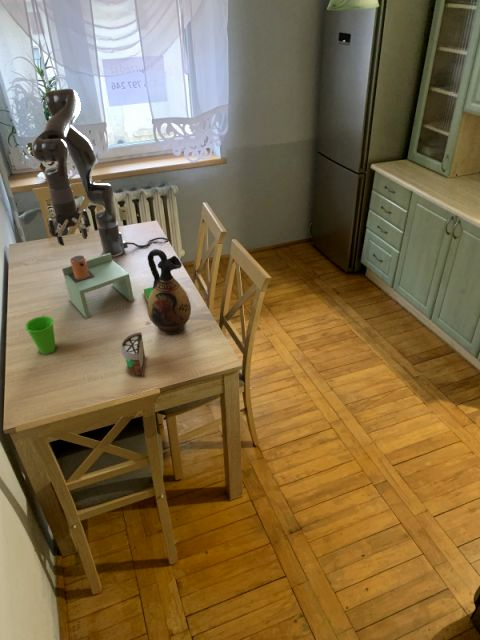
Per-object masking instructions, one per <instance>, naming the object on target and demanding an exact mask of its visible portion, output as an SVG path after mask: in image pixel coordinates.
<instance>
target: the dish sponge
mask: <svg viewBox="0 0 480 640" xmlns="http://www.w3.org/2000/svg"><path fill="white" fill-rule="evenodd" d="M152 290H153V286H152V287H151V286H150V287H147V288H144V289H143V295H144V297H145V299H146V302H148V300H149V296H150V294H151V292H152Z"/></svg>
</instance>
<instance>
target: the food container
mask: <svg viewBox="0 0 480 640" xmlns="http://www.w3.org/2000/svg"><path fill="white" fill-rule="evenodd" d="M120 353H121V355H122V356H123V357H124V359H125V363H126V365H127V369H128V372H129V373H130V375H132V376H135V377H144V370H145V363H146V354H145V347H144V341H143V334H142V331H139V332H134V333H132V334H130V335H128V336H126V337H125V338H124V339H123V340H122V342H121V345H120Z"/></svg>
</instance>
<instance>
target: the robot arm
mask: <svg viewBox="0 0 480 640" xmlns="http://www.w3.org/2000/svg"><path fill="white" fill-rule="evenodd" d="M44 96H45V98H44V99H45V104H46V106H47V109H48V111H49V114H50V115H51V117H50V118H49V119H48V121H47V122H46V124H45V127H44V131H42V132H41V133H40V134H39V135H38V136H37V137H36V138H35V140H34V141H33V144H32V154H33V156H34V158H35V159H36V160H37V161H39V162H41V163H51V162H52V163H53V162H56V163H57V166H53V167H50V168H47V169H46V171H45V173H44V174H45V178H46V182H47V186H48V190H49V197H50V201H51V203H52V207H53V211H54V214H55V217H54V218H49V217H48V218H47V219H46V222H47V226H48V231H49V234H50V235H51V236H52V237H56V239H57V243H58V244H59V245H60V246H62V247H63V246H65V243H64V238H63V235H62V234H63V232H64V231H65V229H68V228H69V229H70V228H71V227H75V226H76V225H77V226H79V227H80V232H81V236H82V239H84V240H87V238H88V235H89V234H88V231H87V228H88V227H91V226H92V225H91V221H90V217H89V214H88V211H87V210H86V209H84V208H83V209H80V211H78V206H77V204H76V200H75V195H74V191H73V189H72V186H71V182H70V179H69V173H68V153H69V155H70V157H71V160H72V162H73V164H74V166H75V168H76V171H77V173H78V176H79V178H80V180H81V184H82V187H83V189H84V192H85V193H84V194H85V196H86V198H87V200H88V202H89V203H90V204H91V205H93V206H103V207H104V209H101V210H99V211H97V212H96V213H95V222H96V226H97V231H98V235H99V240H100V245H101V249H102V255H105V254H108V253H111V256H112V258H115V257H116V258H117V257H119V256H121V255H122V254H124V253H125V252H126V251H125V249H127V248H129V246H128V245H132V246H135V247H137V248H146V247H148V246H150V243H151V242H153V241H157V240H164V241H167V242H170V239H169V238H167V237H161V236H160V237H159V236H158V237H154V238H152V239H149V240H148V241H147V243H146V244H143V245H140V244H137V243H135V242H128V241H126V240H125V239H123V234H122V233H121V232H120V227H119V222H118V217H117V205H116V199H115V192H114V189H113V186H112V185H111V184H110V183H96V182H95V180H94V178H93V171H94V169H95V165H96V162H97V161H96V160H97V157H96V153H95V152H94V149H93V146H92V144H91V142H90V140H89V139H88V138H87V137H86V136H85V135H83V134H82V133H81V132H80V131H78V130H77V129H76V128H75V127H74V126H73V123H74V122H75V120H76V119H77V118H78V116H79V114H80V111H81V102H80V101H81V100H80V98H79V96H78V93H77V92H76V91H75V90H74V89H72V88H61V89H60V88H59V89H53V90H49V91H46V93H45V95H44ZM80 216H81V217H82V219H83V222H84V223H82V222H80V221H79V218H80ZM56 223H58V224H57V226H56V229H55V225H56Z"/></svg>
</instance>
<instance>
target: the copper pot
mask: <svg viewBox="0 0 480 640" xmlns="http://www.w3.org/2000/svg"><path fill="white" fill-rule="evenodd" d="M86 260H87V259H86V257H85V256H84V255H75V256H72V257H71V258H70V259H69V262H70V265H72V269H73V273H74V277H75V279H77V280H82V279H86V278H88V277H89V272H88V268H87V263H86Z"/></svg>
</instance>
